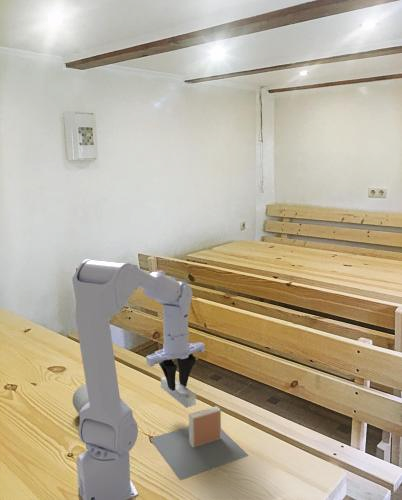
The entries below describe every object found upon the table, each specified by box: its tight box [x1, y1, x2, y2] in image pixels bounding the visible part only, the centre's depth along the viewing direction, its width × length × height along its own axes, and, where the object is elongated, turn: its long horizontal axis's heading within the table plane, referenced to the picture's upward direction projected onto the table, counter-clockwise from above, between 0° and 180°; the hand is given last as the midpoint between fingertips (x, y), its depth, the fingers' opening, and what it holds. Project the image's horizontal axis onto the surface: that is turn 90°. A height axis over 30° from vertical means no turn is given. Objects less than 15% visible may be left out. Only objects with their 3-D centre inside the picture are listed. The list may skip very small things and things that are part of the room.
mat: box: [148, 426, 249, 481], centre depth 99 cm, size 16×16×1 cm
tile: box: [188, 405, 222, 448], centre depth 101 cm, size 7×2×7 cm, turn 118°
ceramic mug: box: [72, 383, 89, 415], centre depth 112 cm, size 11×8×8 cm
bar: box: [160, 376, 197, 409], centre depth 107 cm, size 2×12×2 cm, turn 33°
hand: (177, 387), depth 107 cm, fingers closed on bar, 2 cm apart
